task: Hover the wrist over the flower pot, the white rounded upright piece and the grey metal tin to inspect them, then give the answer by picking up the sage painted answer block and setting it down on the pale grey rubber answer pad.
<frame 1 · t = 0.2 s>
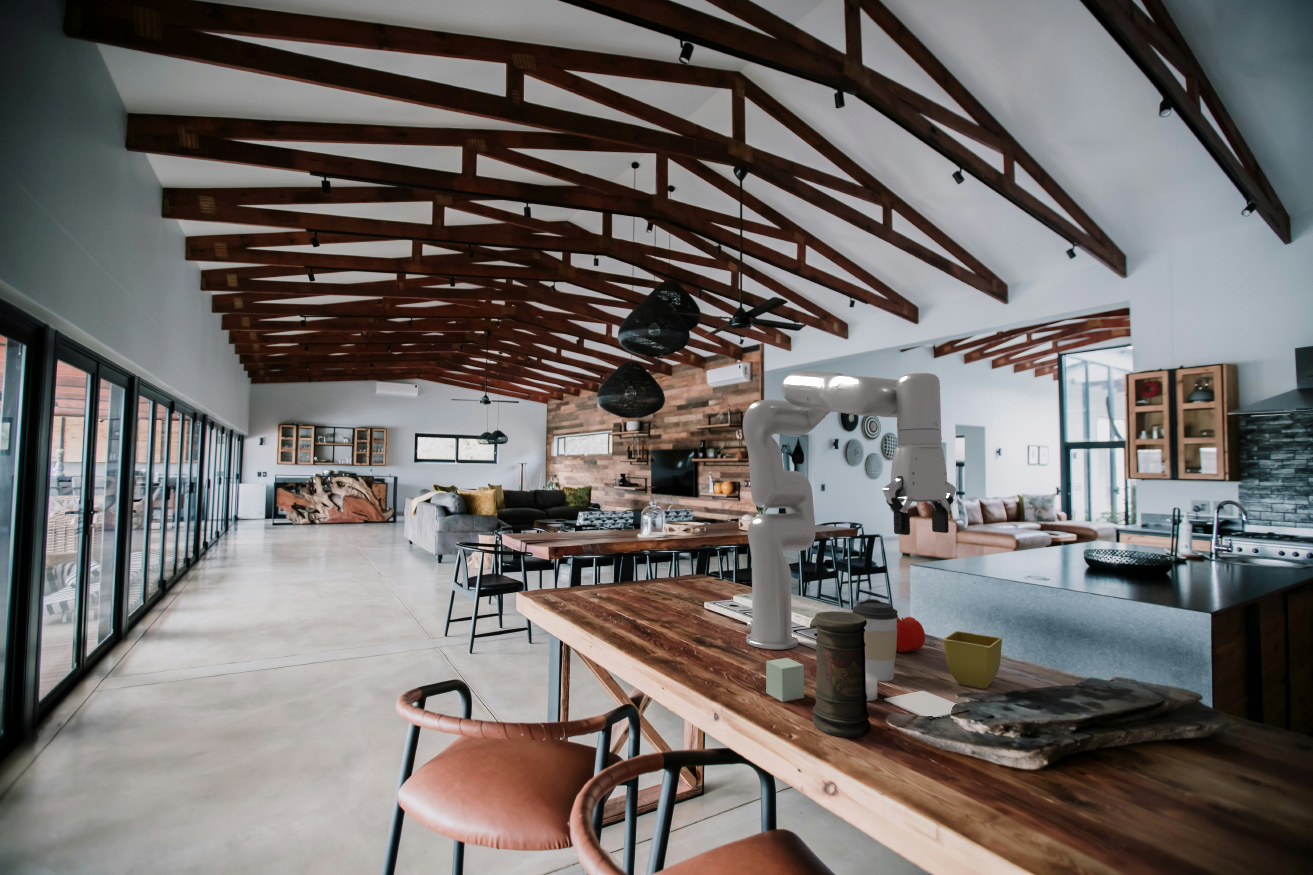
hand: (921, 533, 112), 31 cm above the table, fingers open, 9 cm apart
white rounded upright piece: (860, 695, 115), on the table
tomato: (903, 650, 145), on the table
sage block: (785, 695, 115), on the table
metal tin: (843, 706, 110), on the table
container: (841, 727, 101), on the table
flower pot: (973, 684, 122), on the table
coffee cup: (875, 676, 126), on the table
answer pad: (926, 705, 110), on the table
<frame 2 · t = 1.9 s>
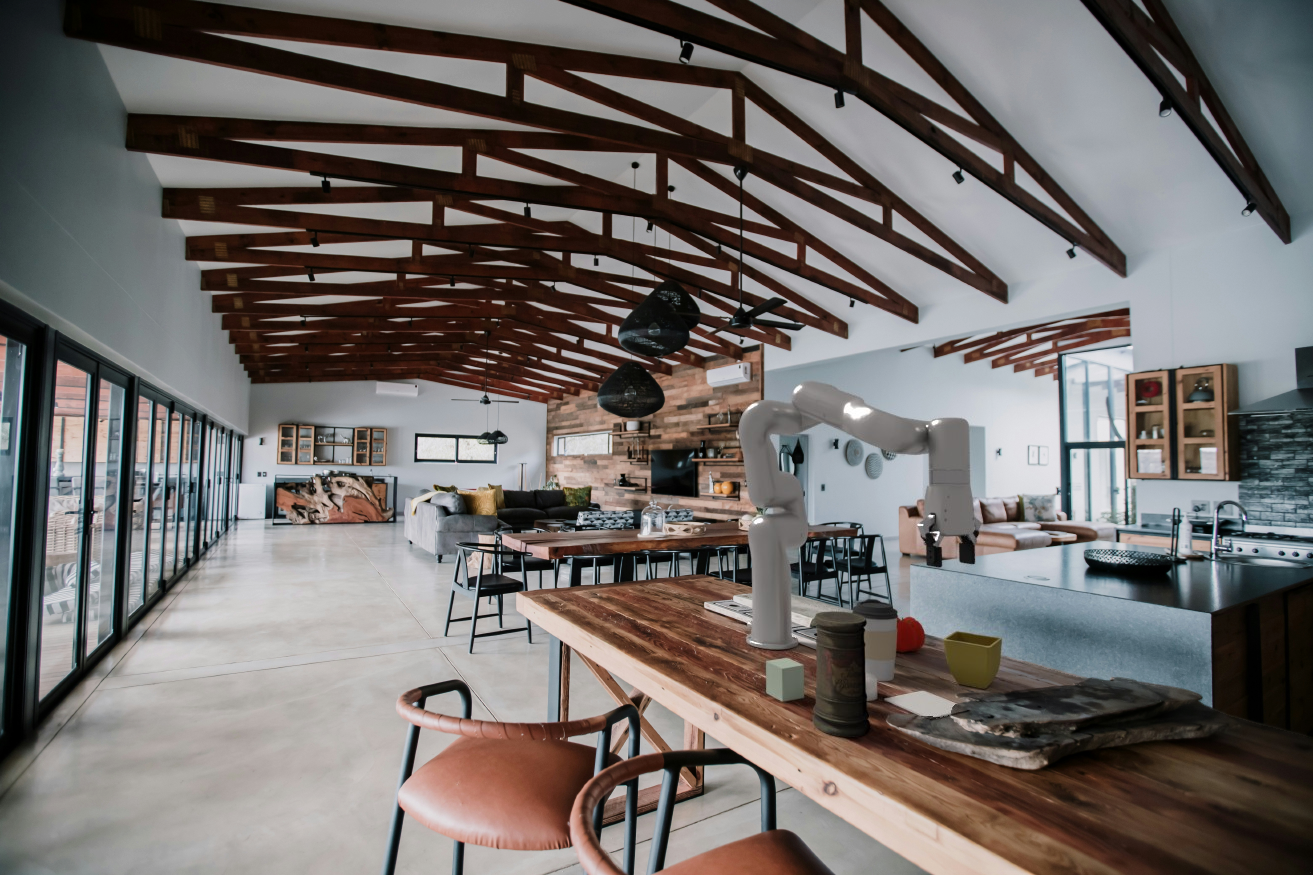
hand: (951, 564, 122), 24 cm above the table, fingers open, 9 cm apart
nothing on the table moved.
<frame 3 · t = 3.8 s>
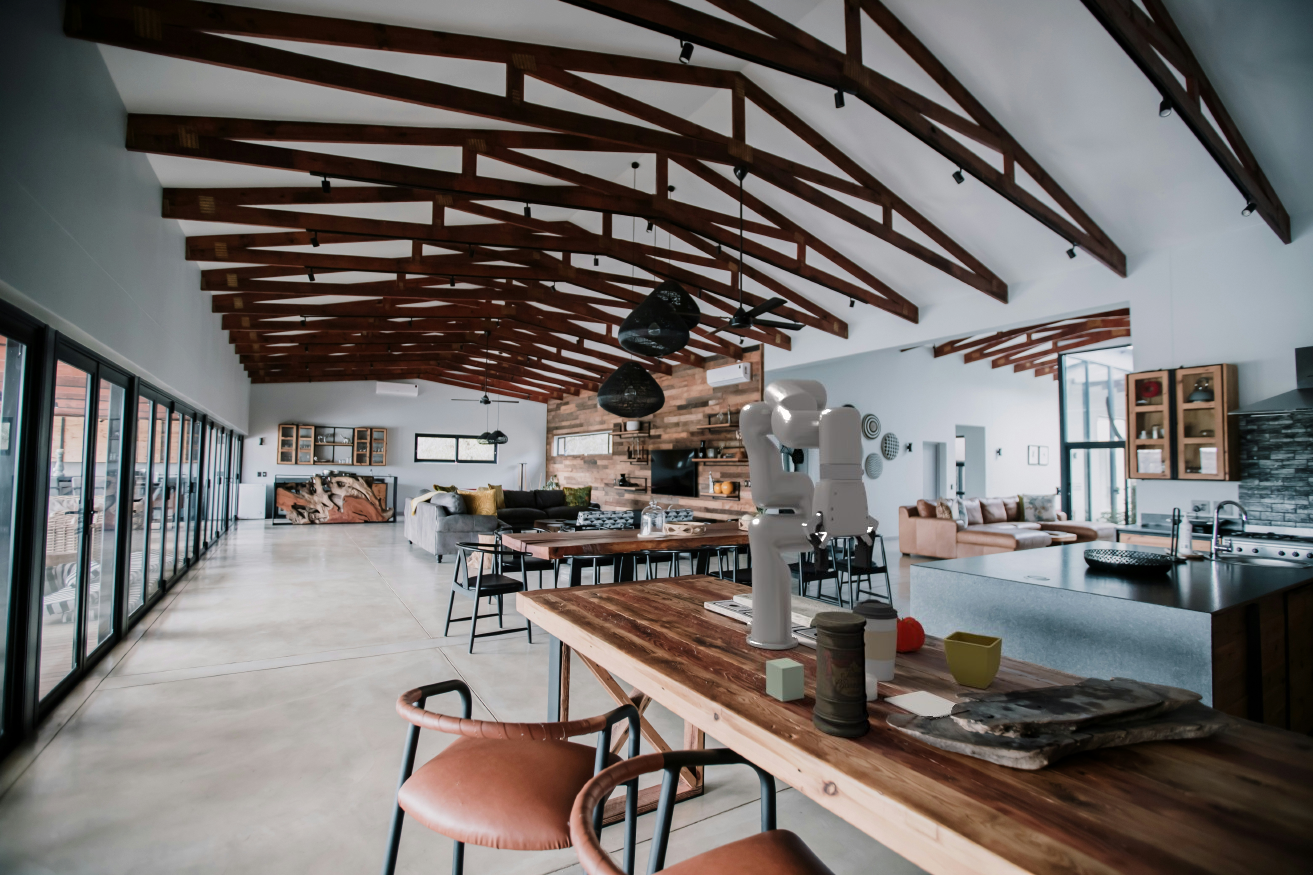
hand: (842, 568, 111), 25 cm above the table, fingers open, 9 cm apart
nothing on the table moved.
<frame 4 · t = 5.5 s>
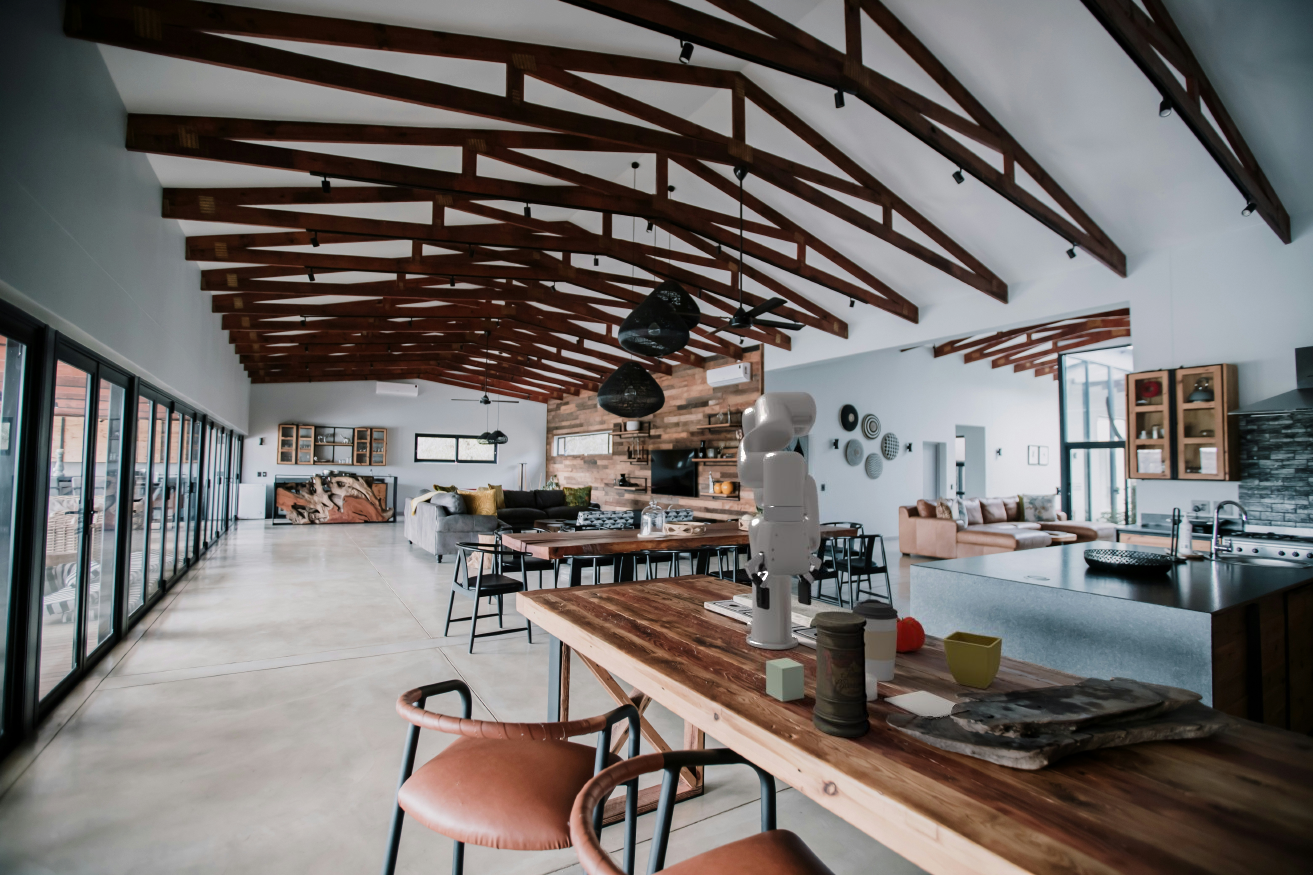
hand: (784, 606, 116), 17 cm above the table, fingers open, 9 cm apart
nothing on the table moved.
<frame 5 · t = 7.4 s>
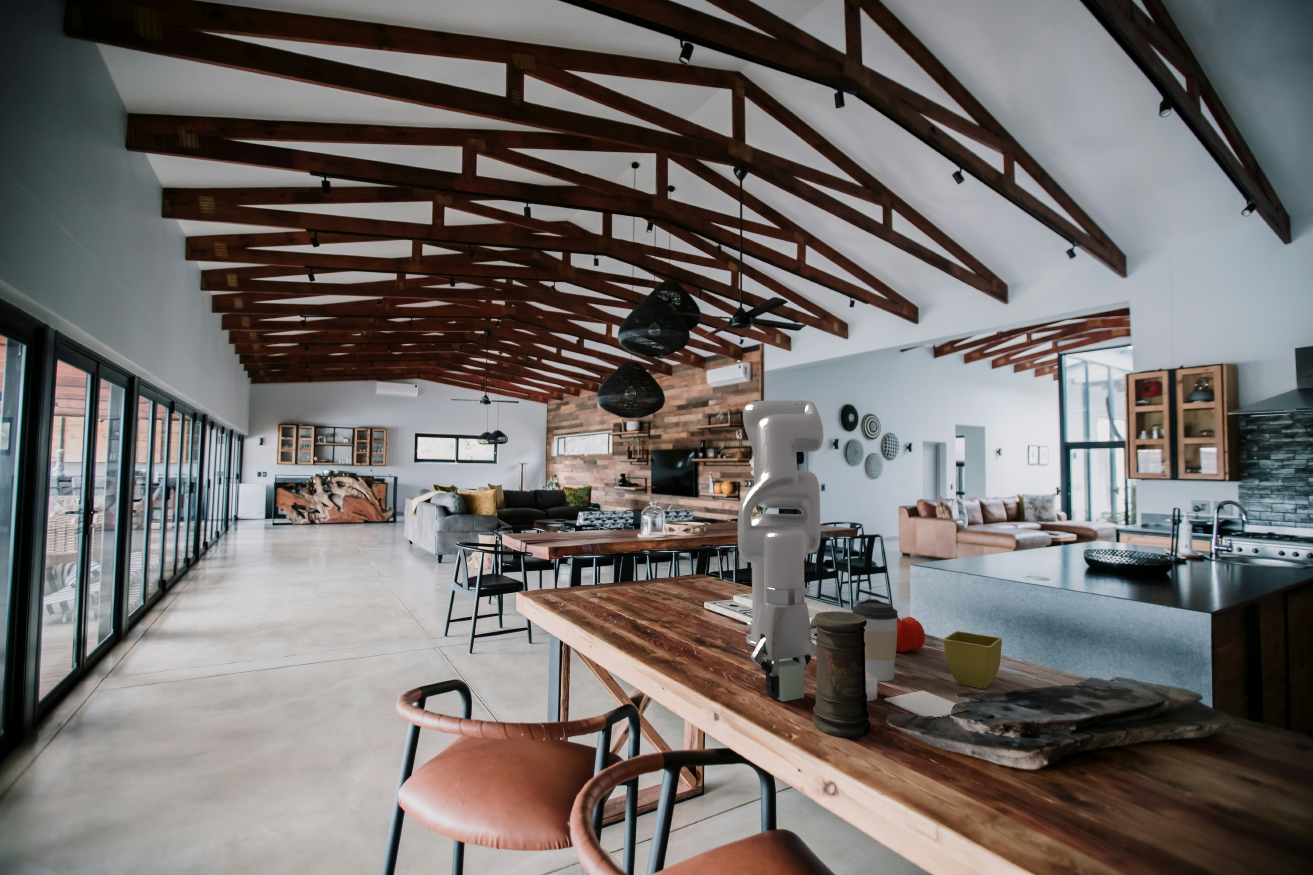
hand: (785, 692, 115), 0 cm above the table, fingers closed on sage block, 5 cm apart
sage block: (785, 695, 115), on the table, touching gripper
everything else where it was.
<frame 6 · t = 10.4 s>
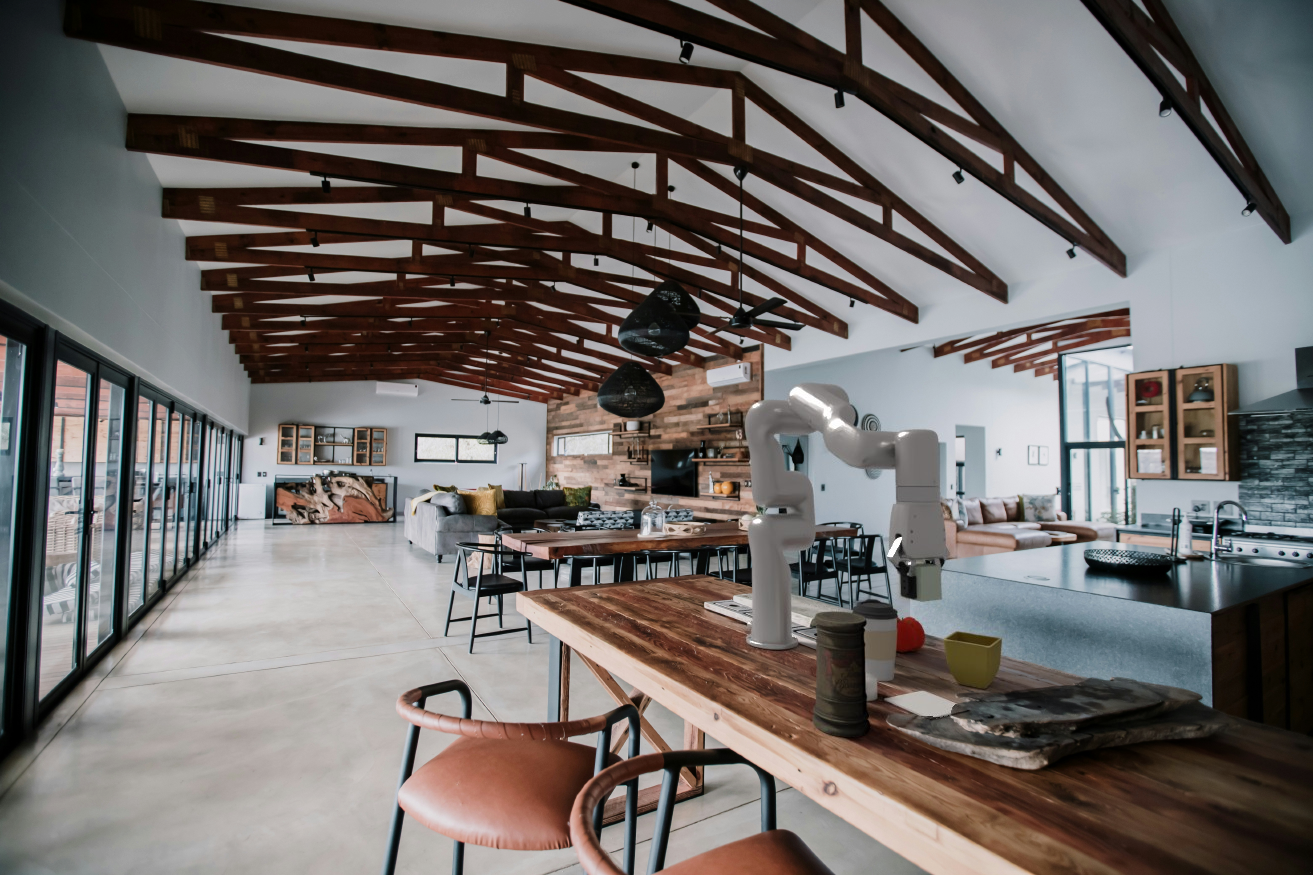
hand: (920, 595, 111), 20 cm above the table, fingers closed on sage block, 5 cm apart
sage block: (920, 597, 111), point 19 cm above the table, touching gripper
everything else where it was.
when the fingers open (2 cm above the table, at t = 13.7 s): sage block drops 1 cm, resting on answer pad.
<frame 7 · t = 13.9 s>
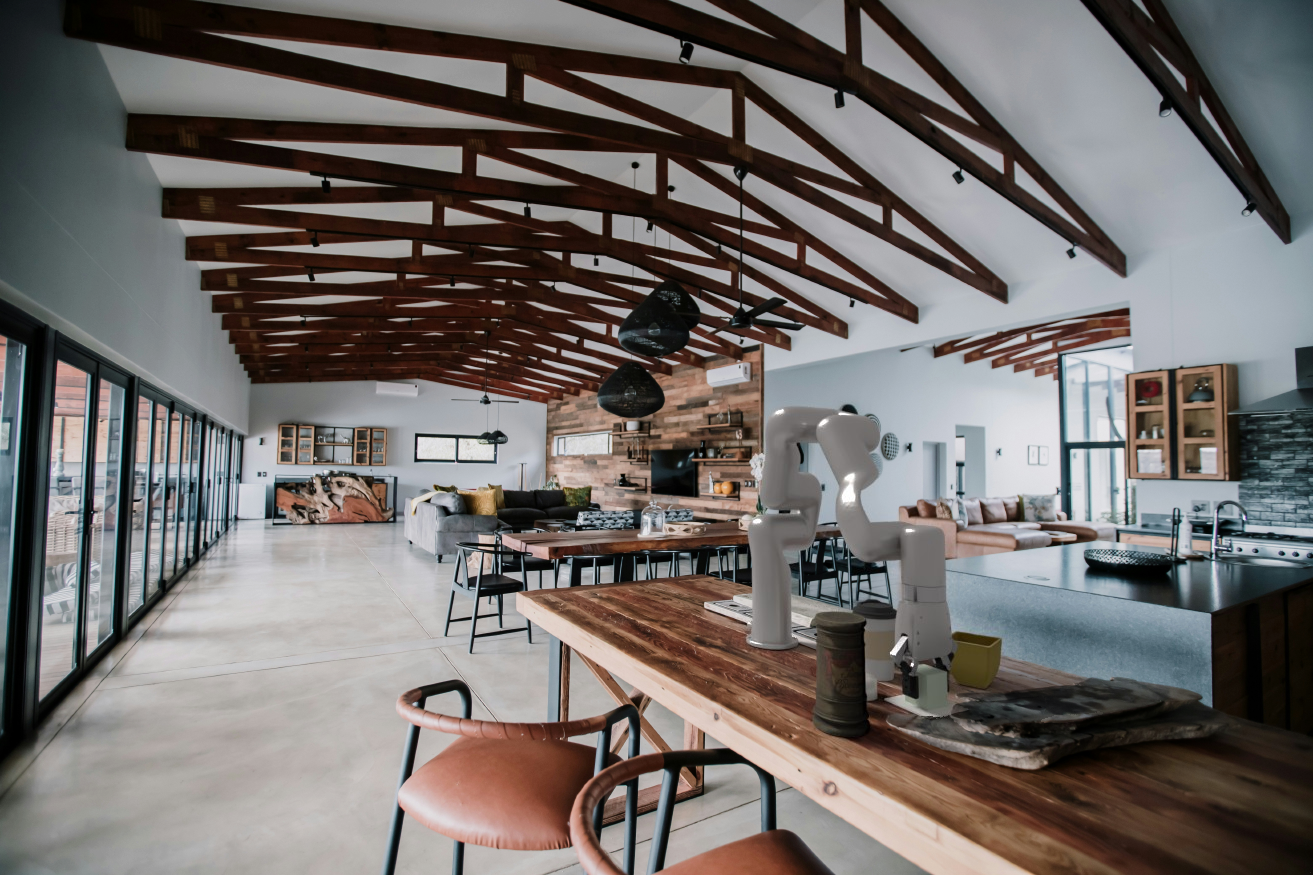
hand: (925, 692, 110), 2 cm above the table, fingers open, 7 cm apart
sage block: (926, 703, 110), resting on answer pad
everything else where it was.
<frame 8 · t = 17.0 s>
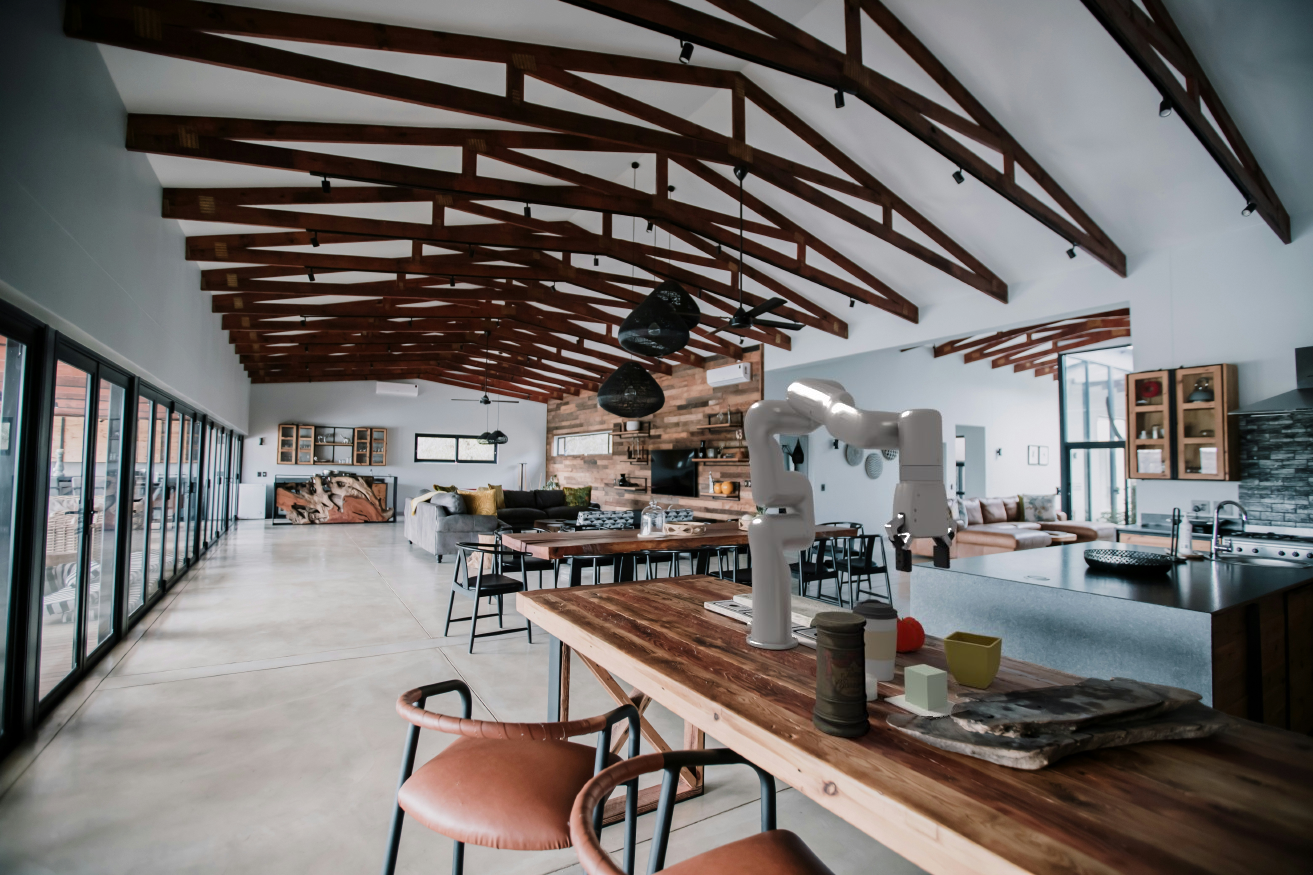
hand: (923, 569, 112), 24 cm above the table, fingers open, 9 cm apart
nothing on the table moved.
at the end: sage block inside the target area on the answer pad (0.0 cm from its centre), point 0.3 cm above the answer pad's base; sage block tilted 0°; the gripper is holding nothing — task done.
